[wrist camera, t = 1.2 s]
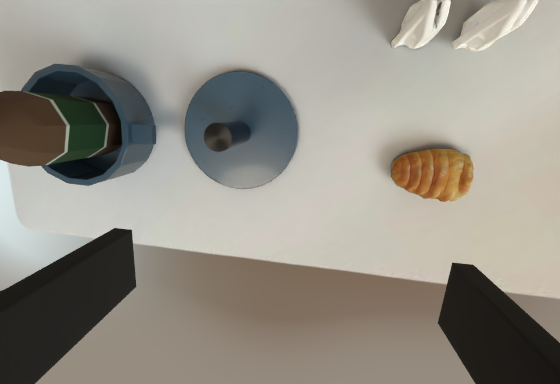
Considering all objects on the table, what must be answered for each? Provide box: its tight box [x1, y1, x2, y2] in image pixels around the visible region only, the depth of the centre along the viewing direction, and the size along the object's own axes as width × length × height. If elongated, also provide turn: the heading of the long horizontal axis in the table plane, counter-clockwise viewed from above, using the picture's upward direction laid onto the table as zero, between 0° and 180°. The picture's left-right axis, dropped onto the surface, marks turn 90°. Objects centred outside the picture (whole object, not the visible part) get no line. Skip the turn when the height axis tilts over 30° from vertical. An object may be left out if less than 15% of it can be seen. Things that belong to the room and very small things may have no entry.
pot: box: [22, 64, 156, 186], centre depth 38 cm, size 15×20×6 cm
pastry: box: [391, 149, 474, 202], centre depth 36 cm, size 9×7×4 cm
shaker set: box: [391, 0, 538, 51], centre depth 29 cm, size 12×4×11 cm, turn 85°
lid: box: [185, 71, 298, 189], centre depth 34 cm, size 16×16×11 cm
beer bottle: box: [0, 91, 122, 166], centre depth 29 cm, size 8×8×24 cm
